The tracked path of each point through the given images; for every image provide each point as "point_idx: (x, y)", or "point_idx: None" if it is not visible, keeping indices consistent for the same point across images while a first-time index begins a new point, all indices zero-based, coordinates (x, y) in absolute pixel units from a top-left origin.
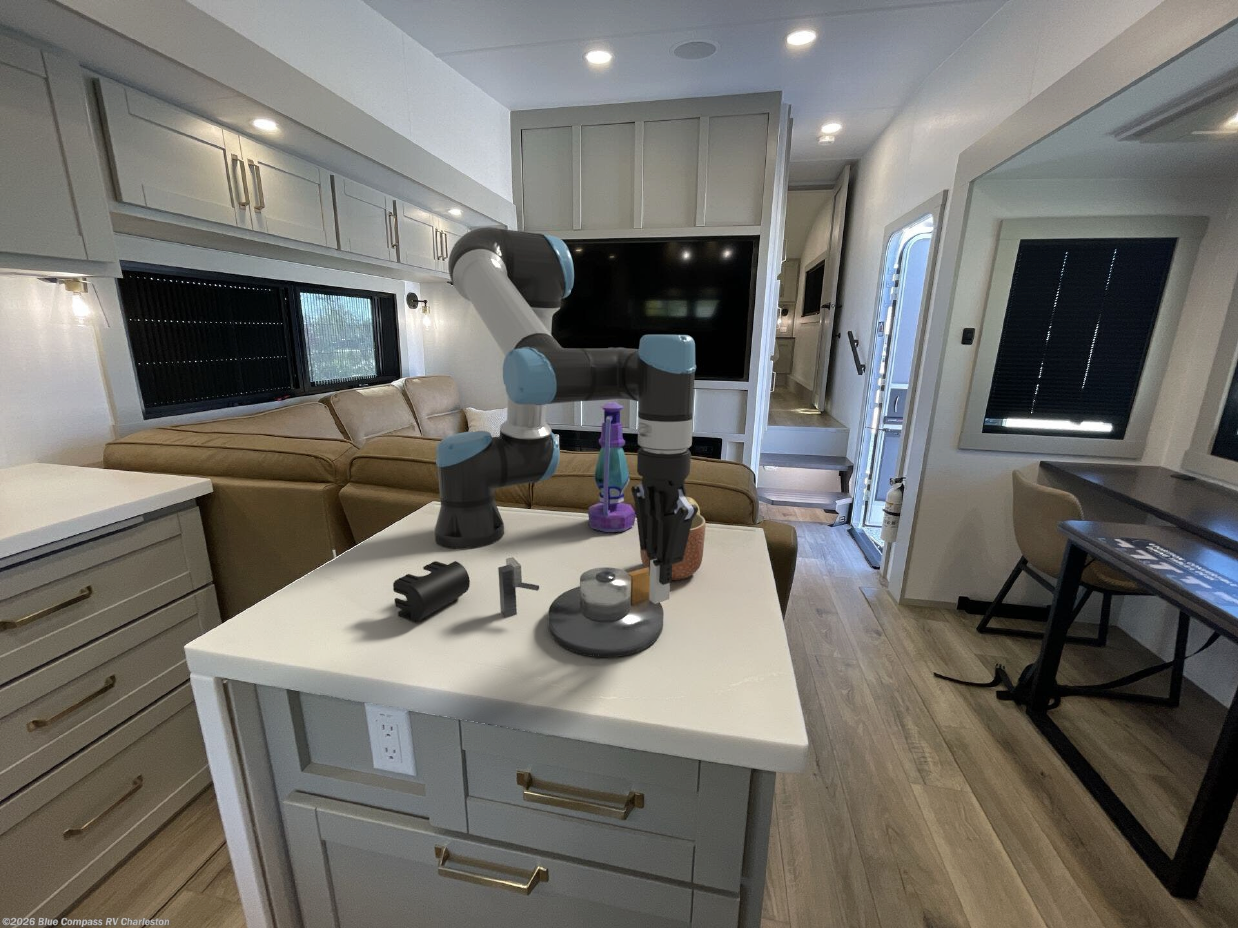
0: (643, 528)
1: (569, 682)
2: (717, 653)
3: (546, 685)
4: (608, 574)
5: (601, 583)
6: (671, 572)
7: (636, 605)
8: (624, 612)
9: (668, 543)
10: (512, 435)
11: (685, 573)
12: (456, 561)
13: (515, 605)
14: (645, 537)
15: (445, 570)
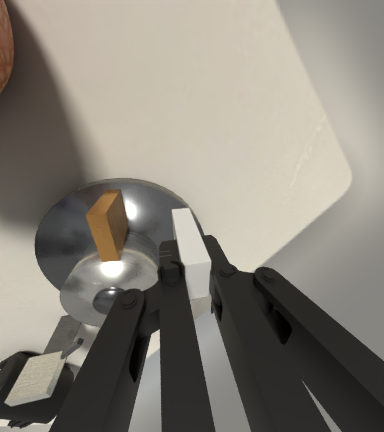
0: (126, 426)
1: None
2: (252, 163)
3: (195, 303)
4: (108, 299)
5: None
6: (222, 252)
7: (135, 222)
8: (158, 252)
9: (300, 375)
10: None
11: (8, 20)
12: None
13: (72, 325)
14: (141, 367)
15: (8, 413)
